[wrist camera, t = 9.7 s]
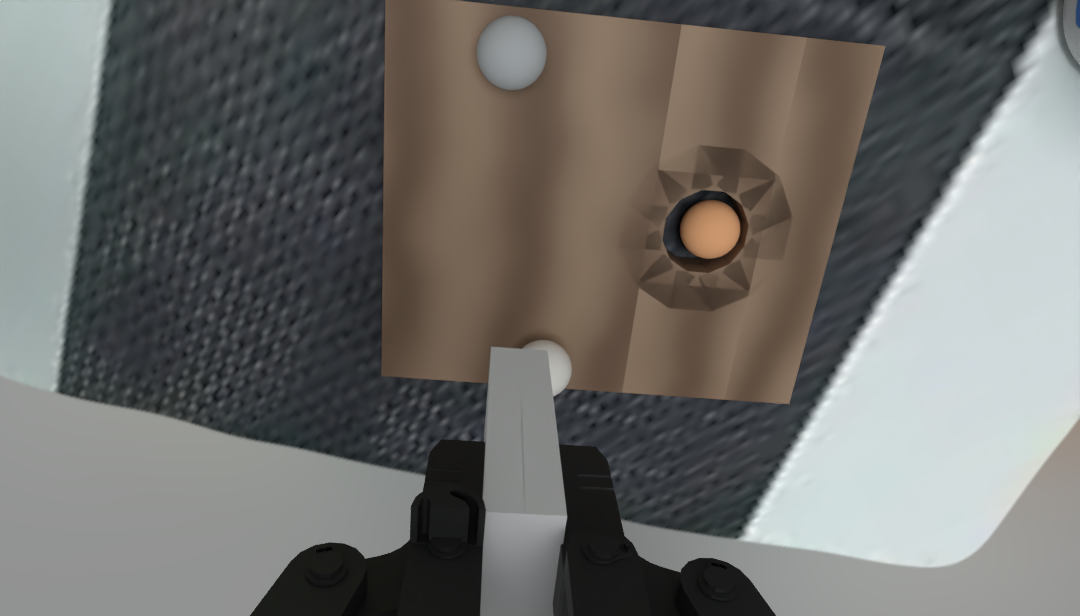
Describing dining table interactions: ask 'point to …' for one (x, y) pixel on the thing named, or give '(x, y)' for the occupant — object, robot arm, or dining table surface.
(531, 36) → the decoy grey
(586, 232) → the board
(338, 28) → the dining table surface
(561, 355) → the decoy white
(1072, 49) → the supplement tub
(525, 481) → the robot arm
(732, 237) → the ball
